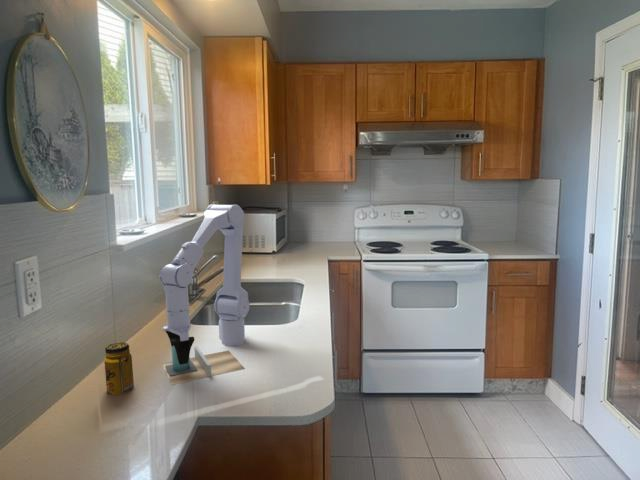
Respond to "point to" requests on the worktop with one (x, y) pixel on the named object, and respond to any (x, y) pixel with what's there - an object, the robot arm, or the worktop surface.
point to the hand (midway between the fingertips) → (180, 358)
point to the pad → (174, 373)
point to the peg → (176, 364)
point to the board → (219, 365)
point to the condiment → (118, 369)
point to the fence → (203, 361)
